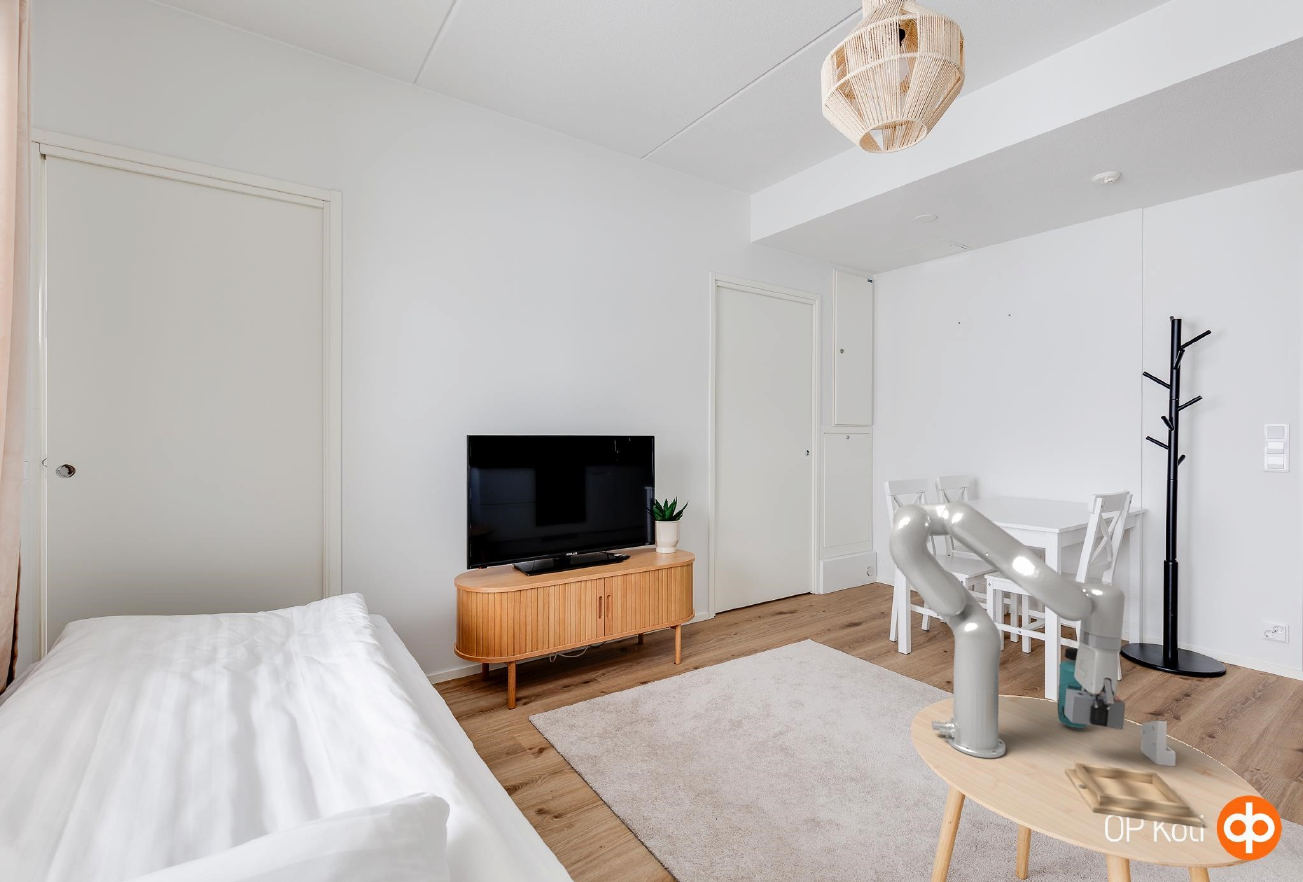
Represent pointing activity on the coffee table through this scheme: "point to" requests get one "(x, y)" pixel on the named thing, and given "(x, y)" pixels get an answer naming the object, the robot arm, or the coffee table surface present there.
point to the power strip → (1081, 706)
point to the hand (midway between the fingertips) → (1093, 718)
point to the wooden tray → (1130, 794)
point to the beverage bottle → (1067, 685)
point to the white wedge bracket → (1157, 743)
